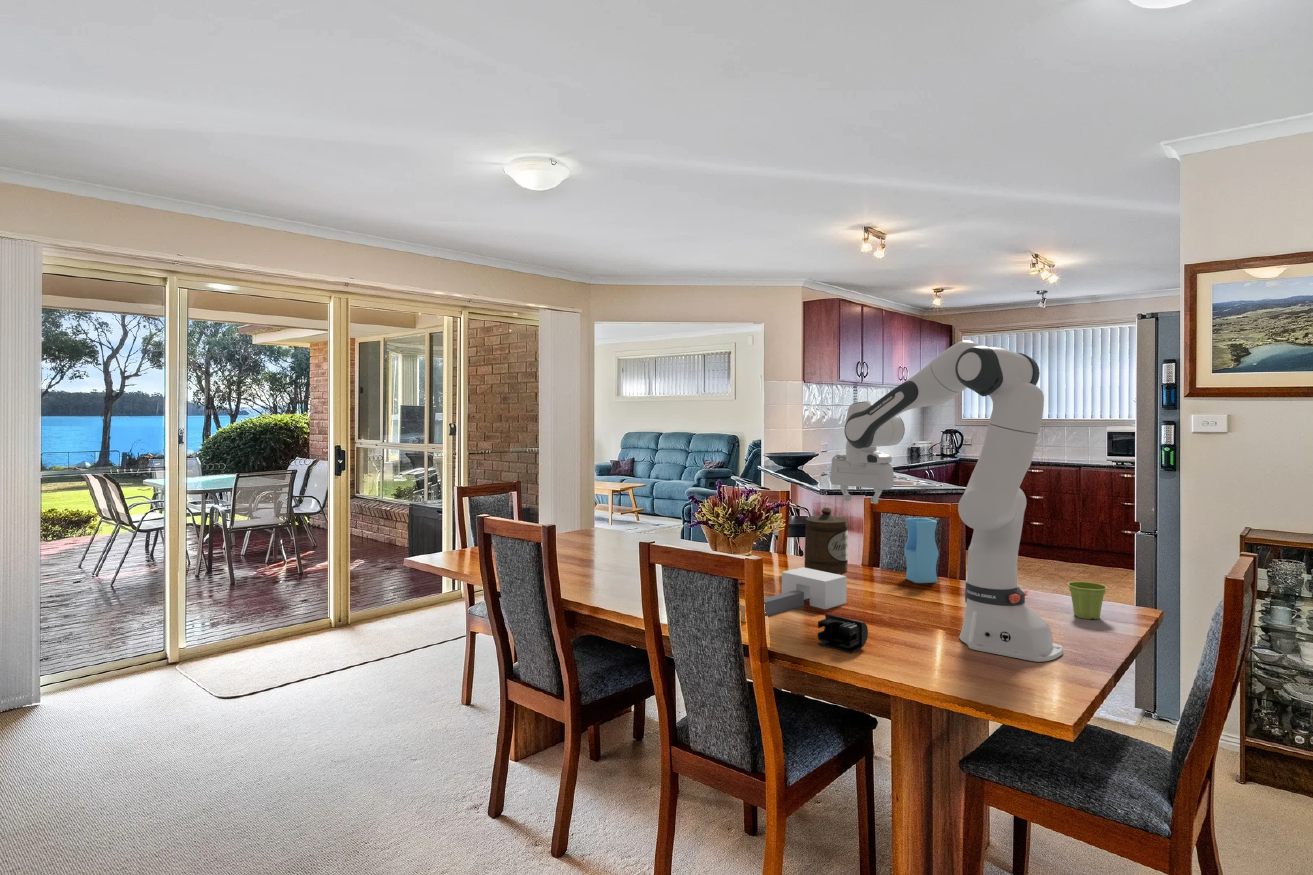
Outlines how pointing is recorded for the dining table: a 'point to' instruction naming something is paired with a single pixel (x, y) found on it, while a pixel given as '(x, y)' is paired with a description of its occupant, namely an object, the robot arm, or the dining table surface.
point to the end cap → (842, 634)
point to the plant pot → (1087, 599)
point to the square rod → (779, 603)
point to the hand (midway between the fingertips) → (860, 501)
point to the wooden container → (826, 543)
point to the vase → (921, 550)
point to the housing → (816, 586)
